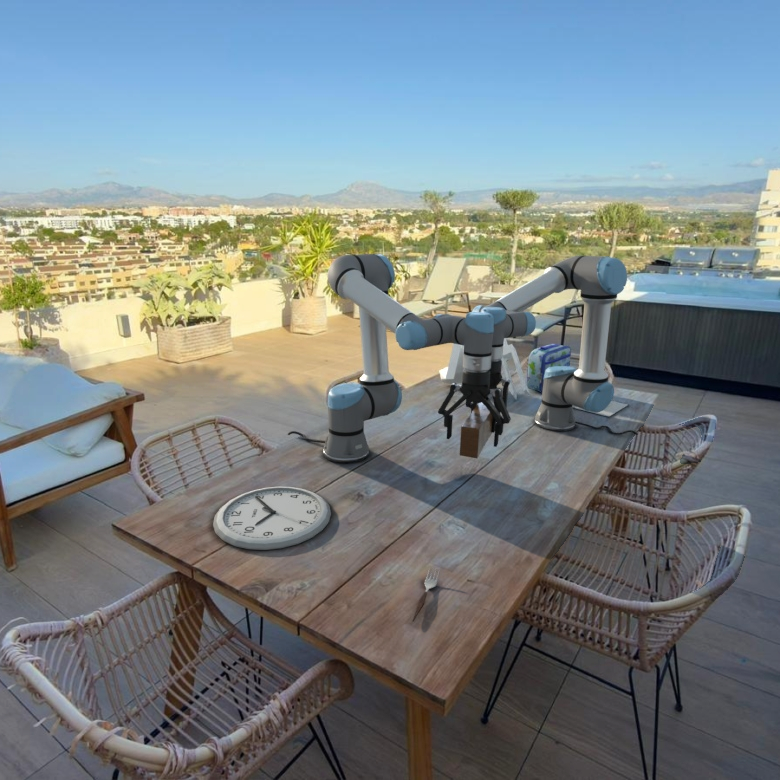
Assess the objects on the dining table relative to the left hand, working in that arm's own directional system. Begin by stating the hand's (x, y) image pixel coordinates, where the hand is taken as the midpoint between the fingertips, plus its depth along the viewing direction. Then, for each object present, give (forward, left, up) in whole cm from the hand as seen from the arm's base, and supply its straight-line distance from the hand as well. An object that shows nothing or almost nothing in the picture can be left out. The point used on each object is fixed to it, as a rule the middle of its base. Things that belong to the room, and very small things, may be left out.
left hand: (472, 441), depth 149 cm
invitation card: (+20, +100, -15) cm, 103 cm away
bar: (-2, +9, -4) cm, 10 cm away
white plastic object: (-32, +90, -15) cm, 97 cm away
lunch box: (-7, +114, -15) cm, 115 cm away
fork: (+11, -50, -15) cm, 53 cm away
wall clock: (-37, -43, -15) cm, 58 cm away
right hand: (-3, +18, -3) cm, 18 cm away
